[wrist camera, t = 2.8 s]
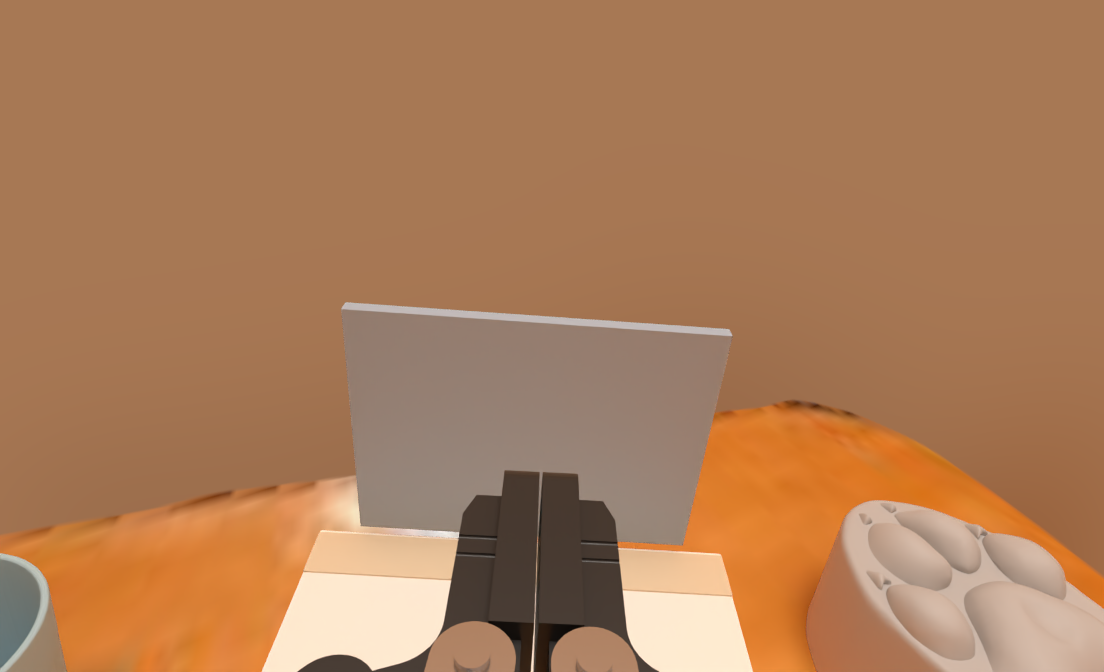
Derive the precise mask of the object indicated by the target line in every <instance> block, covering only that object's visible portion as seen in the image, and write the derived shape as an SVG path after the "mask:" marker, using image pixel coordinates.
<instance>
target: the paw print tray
mask: <svg viewBox="0 0 1104 672" xmlns="http://www.w3.org/2000/svg"><path fill="white" fill-rule="evenodd" d="M806 636H807V641H808V645H809V649H810V653H811V656H812V659H813V662H814V665H815V668H816V671H817V672H1104V609H1103V608H1101V607H1100V606H1099V605H1098V604H1096V603H1095V602H1094V601H1092V600H1091V599H1089V598H1088V597H1087V596H1085V595H1084V594H1083V593H1081V592H1080V591H1079V590H1078V589H1076V588H1075V587H1074V586H1073V585H1071V584H1070V583H1068V582H1067V581H1066V580H1065V574H1064V571H1063V569H1062V567H1061V566H1060V564H1059V563H1058V562H1057V560H1056V559H1055V558H1054V557H1053V556H1052V555H1051V554H1050V553H1049V552H1047V551H1046V550H1045V549H1044V548H1042V547H1041V546H1039V545H1038V544H1036V543H1034V542H1032V541H1030V540H1027V539H1024V538H1021V537H1017V536H1012V535H1006V534H998V533H995V534H993V533H990V532H988V531H986V530H985V529H984V528H982V527H981V526H979V525H974V524H969V523H967V522H964V521H962V520H959V519H957V518H954V517H951V516H949V515H947V514H944V513H941V512H938V511H935V510H932V509H928V508H925V507H921V506H916V505H911V504H906V503H899V502H892V501H881V500H878V501H868V502H865V503H862V504H860V505H858V506H856V507H854V508H853V509H852V510H851V511H850V512H849V513H848V514H847V515H846V516H845V518H844V520H843V522H842V525H841V527H840V530H839V532H838V535H837V538H836V540H835V543H834V545H833V548H832V550H831V553H830V555H829V558H828V560H827V563H826V565H825V568H824V571H823V573H822V576H821V578H820V581H819V583H818V586H817V588H816V591H815V593H814V596H813V599H812V601H811V604H810V606H809V609H808V614H807V620H806Z"/></svg>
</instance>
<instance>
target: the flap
mask: <svg viewBox="0 0 1104 672" xmlns="http://www.w3.org/2000/svg"><path fill="white" fill-rule="evenodd" d="M341 311H342V322H343V332H344V343H345V355H346V366H347V378H348V388H349V400H350V410H351V422H352V433H353V444H354V456H355V466H356V478H357V489H358V500H359V511H360V523H361V526H369V527H385V528H402V529H419V530H436V531H452V532H460V527H461V521H462V515H463V512H464V511H465V510H466V508H467V507H468V506H469V504H470V503H471V502H472V500H473V499H474V498H475V496H476V495H491V496H502V488H503V479H504V471H505V470H512V471H531V472H540V479H539V507H538V531H539V516H540V502H541V487H542V474H543V472H553V473H572V474H578V481H579V500H592V501H603V502H604V504H605V505H606V507H607V508H608V510H609V511H610V513H611V515H612V516H613V518H614V519H615V523H616V532H617V541H619V542H636V543H653V544H670V545H683V542H684V538H685V534H686V530H687V526H688V521H689V517H690V513H691V509H692V505H693V500H694V496H695V492H696V488H697V484H698V479H699V475H700V471H701V467H702V463H703V458H704V454H705V450H706V446H707V442H708V438H709V433H710V429H711V425H712V421H713V417H714V412H715V408H716V404H717V400H718V395H719V391H720V387H721V383H722V379H723V375H724V370H725V366H726V362H727V358H728V354H729V349H730V345H731V341H732V337H733V336H732V334H731V332H730V330H729V329H716V328H703V327H689V326H674V325H660V324H646V323H632V322H618V321H603V320H588V319H575V318H560V317H546V316H530V315H518V314H503V313H489V312H488V313H487V312H475V311H460V310H446V309H432V308H418V307H403V306H402V307H401V306H389V305H375V304H360V303H345V304H344V306H343V307H342V309H341ZM537 537H538V535H537Z"/></svg>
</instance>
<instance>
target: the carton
mask: <svg viewBox="0 0 1104 672" xmlns="http://www.w3.org/2000/svg"><path fill="white" fill-rule="evenodd" d="M457 544H458V538H443V537H427V536H410V535H393V534H376V533H359V532H343V531H326V530H321V532H319V535H318V537H317V539H316V542H315V544H314V546H313V549H312V551H311V554H310V556H309V558H308V561H307V563H306V565H305V568H304V570H303V575H302V577H301V579H300V582H299V584H298V587H297V589H296V591H295V594H294V596H293V599H292V601H291V603H290V606H289V608H288V610H287V613H286V615H285V618H284V620H283V622H282V625H281V627H280V629H279V632H278V634H277V637H276V639H275V641H274V644H273V646H272V649H271V651H270V653H269V656H268V658H267V660H266V663H265V665H264V668H263V670H262V672H298V671H299V670H300V669H301V668H303V667H304V666H306V665H307V664H309V663H311V662H312V661H314V660H316V659H319V658H322V657H325V656H330V655H339V654H342V655H350V656H353V657H356V658H358V659H360V660H362V661H363V662H365V663H366V664H367V665H368V666H369V667H370V668H371V670H372V671H373V670H377V669H381V668H385V667H388V666H392V665H396V664H400V663H403V662H406V661H408V660H410V659H412V658H415V657H416V656H418V655H419V654H421V653H423V652H424V651H425V650H426V649H427V648H429V647H430V646H431V644H432V643H433V642H434V641H435V640H436V638H437V637H438V635H439V633H440V631H441V629H442V626H443V623H444V618H445V612H446V607H447V601H448V595H449V589H450V584H451V578H452V572H453V567H454V561H455V556H456V550H457ZM537 549H538V543H537ZM618 551H619V564H620V569H621V579H622V588H623V598H624V607H625V616H626V626H627V632H628V637H629V639H630V642H631V644H632V646H633V648H634V649H635V651H636V652H637V653H638V655H639V656H640V657H641V658H642V659H643V660H644V661H645V662H646V663H647V664H649V665H650V666H651V667H652V668H654V669H656V670H657V671H659V672H753V670H752V667H751V663H750V660H749V656H748V652H747V649H746V645H745V642H744V638H743V634H742V631H741V627H740V624H739V620H738V616H737V613H736V609H735V606H734V602H733V598H732V592H731V588H730V585H729V581H728V577H727V574H726V570H725V567H724V563H723V559H722V556H721V555H720V554H712V553H695V552H679V551H662V550H645V549H628V548H618ZM536 576H537V564H536ZM535 605H536V592H535ZM534 634H535V620H534ZM533 663H534V635H533V649H532V663H531V672H533Z"/></svg>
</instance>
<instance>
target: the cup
mask: <svg viewBox="0 0 1104 672" xmlns="http://www.w3.org/2000/svg"><path fill="white" fill-rule="evenodd" d="M0 672H67V669H66V665H65V661H64V656H63V652H62V647H61V643H60V639H59V634H58V627H57V622H56V618H55V613H54V609H53V604H52V600H51V595H50V591H49V587H48V583H47V581H46V579H45V577H44V576H43V574H42V572H41V571H40V570H39V569H38V568H37V567H35V566H34V565H33V564H31V563H29V562H28V561H26V560H24V559H21V558H19V557H16V556H12V555H7V554H1V553H0Z"/></svg>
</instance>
